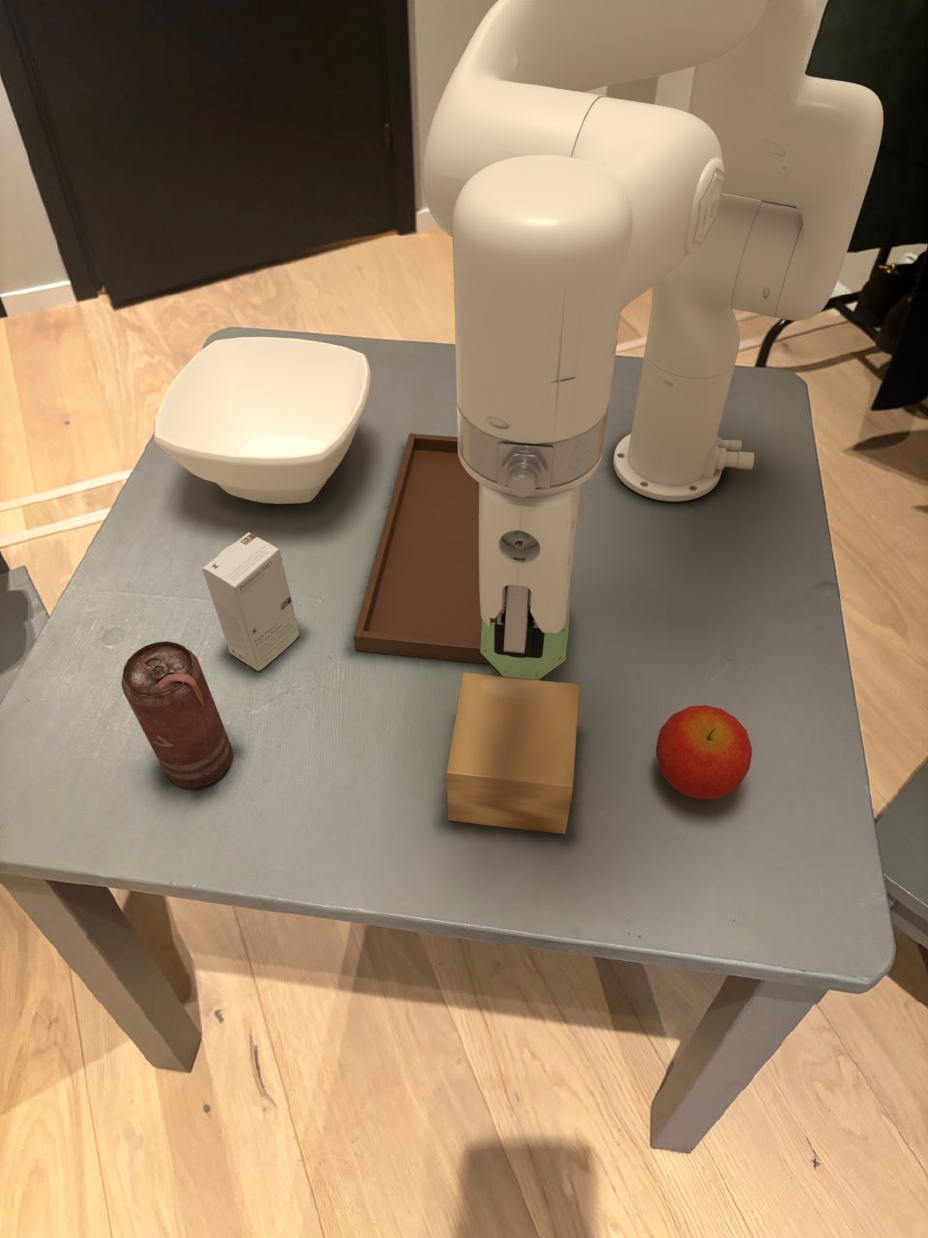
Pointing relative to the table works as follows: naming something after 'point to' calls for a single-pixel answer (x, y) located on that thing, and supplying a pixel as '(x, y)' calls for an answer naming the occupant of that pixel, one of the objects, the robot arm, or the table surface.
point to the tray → (427, 561)
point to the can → (177, 713)
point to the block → (513, 753)
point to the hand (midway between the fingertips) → (519, 646)
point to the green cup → (527, 666)
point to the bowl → (265, 415)
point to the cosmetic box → (252, 600)
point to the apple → (703, 752)
